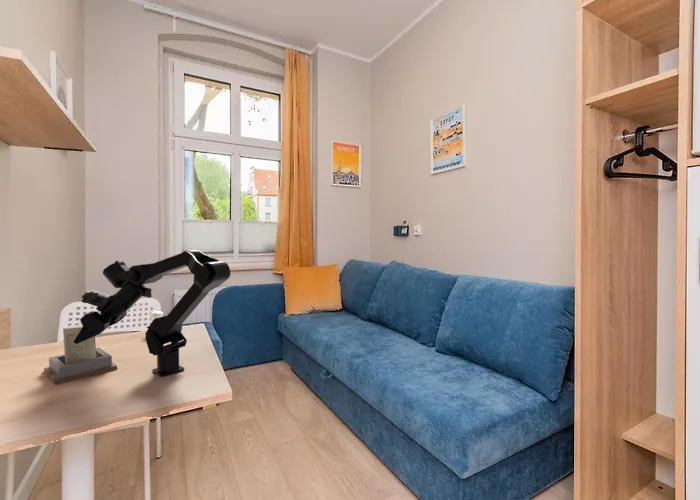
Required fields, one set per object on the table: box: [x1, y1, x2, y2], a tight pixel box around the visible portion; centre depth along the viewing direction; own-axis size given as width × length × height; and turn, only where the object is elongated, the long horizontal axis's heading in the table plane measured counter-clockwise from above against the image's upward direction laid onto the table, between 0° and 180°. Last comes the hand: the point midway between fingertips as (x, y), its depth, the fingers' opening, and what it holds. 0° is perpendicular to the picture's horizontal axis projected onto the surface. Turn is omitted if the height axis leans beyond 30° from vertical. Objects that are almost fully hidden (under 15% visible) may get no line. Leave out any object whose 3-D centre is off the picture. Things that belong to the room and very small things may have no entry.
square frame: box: [48, 347, 113, 379], centre depth 100 cm, size 12×12×3 cm
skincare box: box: [62, 323, 97, 365], centre depth 99 cm, size 6×4×12 cm
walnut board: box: [43, 362, 118, 386], centre depth 100 cm, size 14×14×1 cm
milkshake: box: [149, 309, 166, 324], centre depth 137 cm, size 4×5×10 cm
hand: (82, 338), depth 100 cm, fingers open, 9 cm apart
